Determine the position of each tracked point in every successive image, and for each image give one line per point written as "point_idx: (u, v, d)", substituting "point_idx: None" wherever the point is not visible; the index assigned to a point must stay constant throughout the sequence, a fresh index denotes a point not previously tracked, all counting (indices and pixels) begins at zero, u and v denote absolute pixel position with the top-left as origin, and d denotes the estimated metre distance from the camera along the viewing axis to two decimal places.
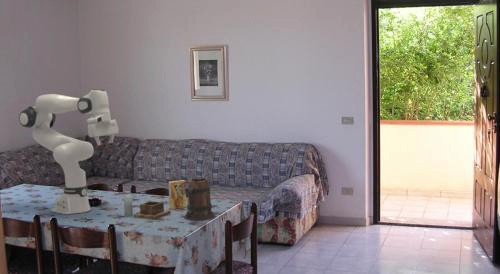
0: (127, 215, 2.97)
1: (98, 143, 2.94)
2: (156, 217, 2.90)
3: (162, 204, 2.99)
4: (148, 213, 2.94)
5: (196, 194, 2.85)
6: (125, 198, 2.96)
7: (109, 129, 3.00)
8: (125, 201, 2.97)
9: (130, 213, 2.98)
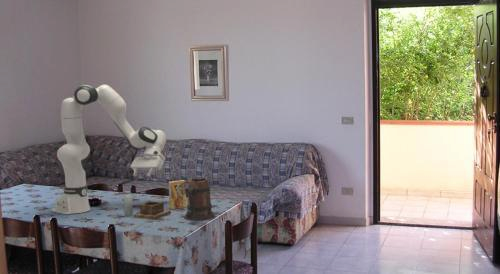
0: (127, 215, 2.97)
1: (149, 174, 3.05)
2: (156, 217, 2.90)
3: (162, 204, 2.99)
4: (148, 213, 2.94)
5: (196, 194, 2.85)
6: (125, 198, 2.96)
7: None
8: (125, 201, 2.97)
9: (130, 213, 2.98)
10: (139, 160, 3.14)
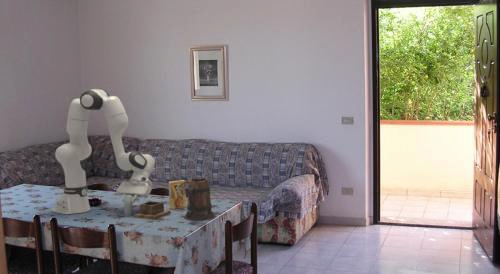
0: (127, 215, 2.97)
1: (133, 201, 2.97)
2: (156, 217, 2.90)
3: (162, 204, 2.99)
4: (148, 213, 2.94)
5: (196, 194, 2.85)
6: (125, 198, 2.96)
7: None
8: (125, 201, 2.97)
9: (130, 213, 2.98)
10: (126, 185, 3.05)
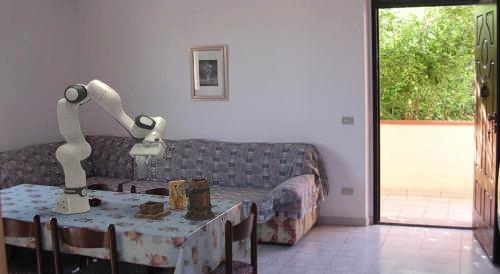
0: (141, 176, 2.94)
1: (147, 162, 2.95)
2: (156, 217, 2.90)
3: (162, 204, 2.99)
4: (148, 213, 2.94)
5: (196, 194, 2.85)
6: (139, 159, 2.94)
7: None
8: (139, 162, 2.94)
9: (144, 174, 2.95)
10: (139, 147, 3.02)
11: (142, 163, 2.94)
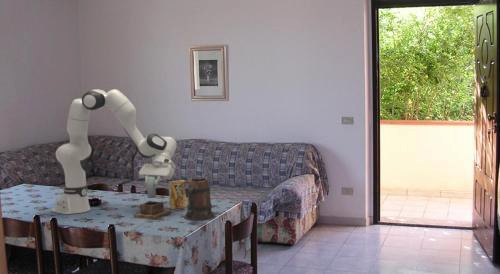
0: (150, 197, 2.95)
1: (156, 183, 2.95)
2: (156, 217, 2.90)
3: (162, 204, 2.99)
4: (148, 213, 2.94)
5: (196, 194, 2.85)
6: (148, 180, 2.94)
7: None
8: (148, 183, 2.95)
9: (153, 195, 2.96)
10: (148, 167, 3.03)
11: (151, 184, 2.95)
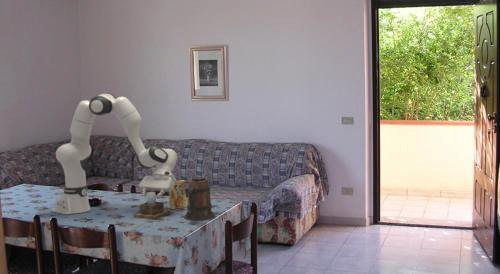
0: None
1: (160, 196, 2.95)
2: (156, 217, 2.90)
3: (162, 204, 2.99)
4: (148, 213, 2.94)
5: (196, 194, 2.85)
6: (149, 195, 2.95)
7: None
8: (149, 198, 2.96)
9: None
10: (148, 179, 3.04)
11: (152, 199, 2.96)
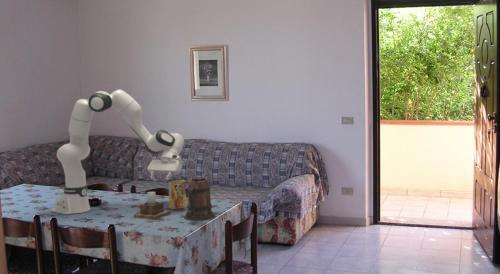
0: None
1: (167, 178, 3.01)
2: (156, 217, 2.90)
3: (162, 204, 2.99)
4: (148, 213, 2.94)
5: (196, 194, 2.85)
6: (149, 195, 2.95)
7: None
8: (149, 198, 2.96)
9: None
10: (156, 163, 3.10)
11: (152, 199, 2.96)
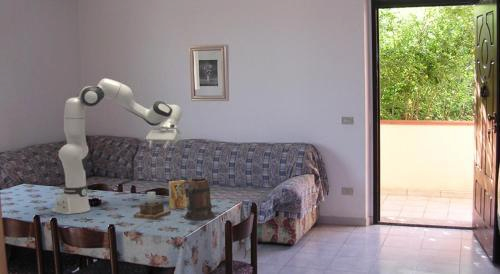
0: None
1: (165, 147, 3.11)
2: (156, 217, 2.90)
3: (162, 204, 2.99)
4: (148, 213, 2.94)
5: (196, 194, 2.85)
6: (149, 195, 2.95)
7: None
8: (149, 198, 2.96)
9: None
10: (155, 133, 3.19)
11: (152, 199, 2.96)
